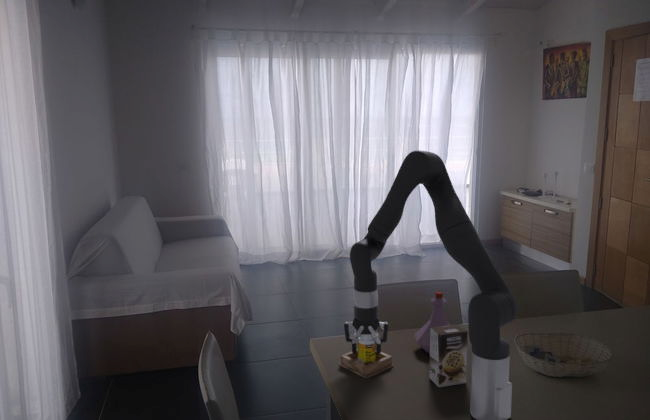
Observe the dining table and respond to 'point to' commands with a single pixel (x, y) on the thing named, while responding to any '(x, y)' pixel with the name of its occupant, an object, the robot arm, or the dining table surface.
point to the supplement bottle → (366, 349)
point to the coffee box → (448, 355)
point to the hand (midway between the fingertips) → (366, 353)
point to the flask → (432, 321)
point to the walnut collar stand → (368, 370)
